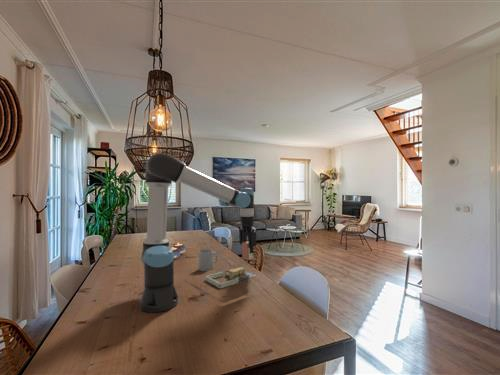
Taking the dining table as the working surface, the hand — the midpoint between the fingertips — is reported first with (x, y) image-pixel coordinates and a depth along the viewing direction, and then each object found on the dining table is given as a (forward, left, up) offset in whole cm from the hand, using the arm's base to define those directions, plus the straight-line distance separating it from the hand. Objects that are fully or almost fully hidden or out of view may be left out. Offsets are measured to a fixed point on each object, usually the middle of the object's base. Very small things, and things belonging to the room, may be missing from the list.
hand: (247, 257), depth 140 cm
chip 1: (-9, 0, -9) cm, 13 cm away
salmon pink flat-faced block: (0, 0, 0) cm, 0 cm away
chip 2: (-5, 0, -9) cm, 10 cm away
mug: (-10, +26, -10) cm, 30 cm away
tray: (-17, 0, -10) cm, 20 cm away
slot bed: (-5, 0, -10) cm, 11 cm away
